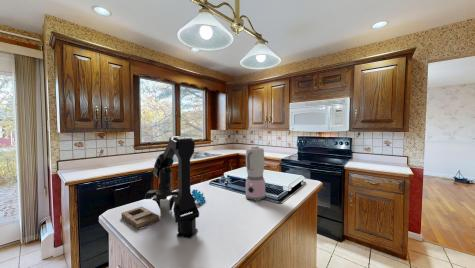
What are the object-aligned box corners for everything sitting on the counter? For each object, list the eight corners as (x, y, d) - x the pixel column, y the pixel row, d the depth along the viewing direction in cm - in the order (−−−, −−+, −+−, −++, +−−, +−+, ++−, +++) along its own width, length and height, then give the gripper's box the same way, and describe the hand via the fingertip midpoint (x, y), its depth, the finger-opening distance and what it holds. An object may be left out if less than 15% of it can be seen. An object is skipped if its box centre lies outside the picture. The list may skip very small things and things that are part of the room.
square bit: (171, 211, 101) (171, 196, 100) (169, 215, 96) (169, 199, 96) (163, 212, 100) (162, 197, 100) (160, 216, 96) (160, 200, 95)
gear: (200, 204, 106) (190, 190, 109) (193, 211, 107) (183, 196, 110) (209, 199, 117) (199, 187, 120) (203, 206, 118) (193, 193, 120)
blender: (251, 193, 127) (250, 145, 126) (268, 196, 121) (268, 146, 120) (239, 201, 114) (238, 147, 113) (257, 205, 107) (257, 148, 107)
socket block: (159, 220, 91) (159, 215, 91) (137, 229, 83) (137, 224, 83) (142, 211, 102) (142, 206, 102) (121, 217, 95) (121, 212, 95)
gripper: (139, 185, 89) (140, 218, 89) (180, 183, 90) (181, 216, 91) (148, 179, 100) (149, 208, 100) (185, 177, 102) (185, 206, 102)
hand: (166, 210), depth 98 cm, fingers closed on square bit, 4 cm apart
